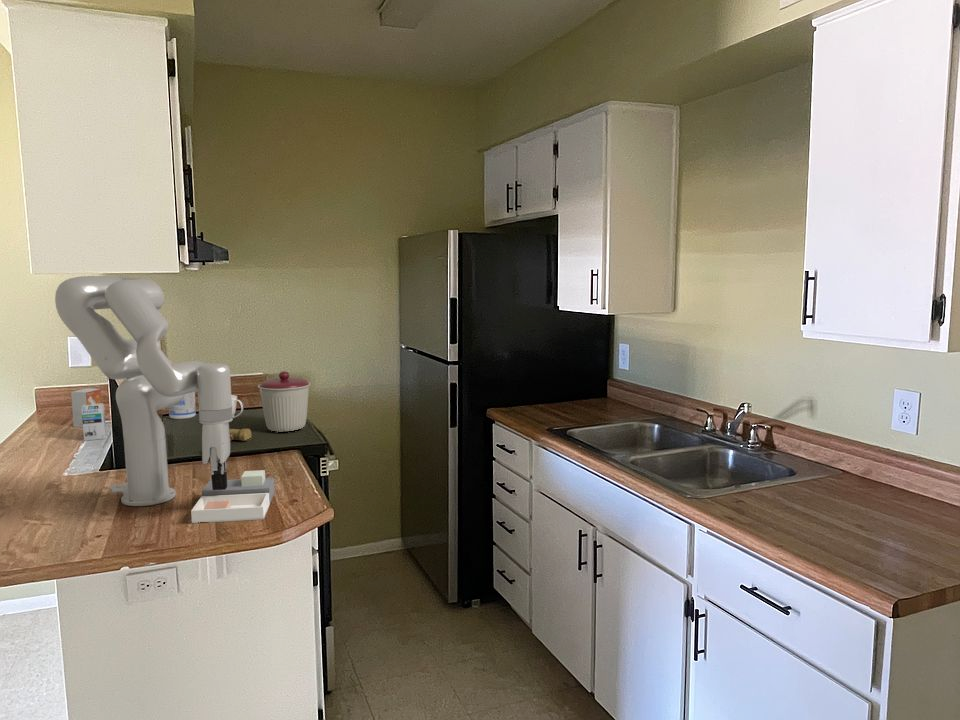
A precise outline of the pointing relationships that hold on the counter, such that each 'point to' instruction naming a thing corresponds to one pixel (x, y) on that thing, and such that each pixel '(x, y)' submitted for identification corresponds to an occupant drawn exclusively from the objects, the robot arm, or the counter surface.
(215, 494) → the plate
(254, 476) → the tile
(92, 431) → the light bulb box
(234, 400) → the cup
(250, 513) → the tray
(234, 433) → the gavel
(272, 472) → the counter surface
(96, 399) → the small box
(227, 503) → the tile
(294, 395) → the canister
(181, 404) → the supplement tub
